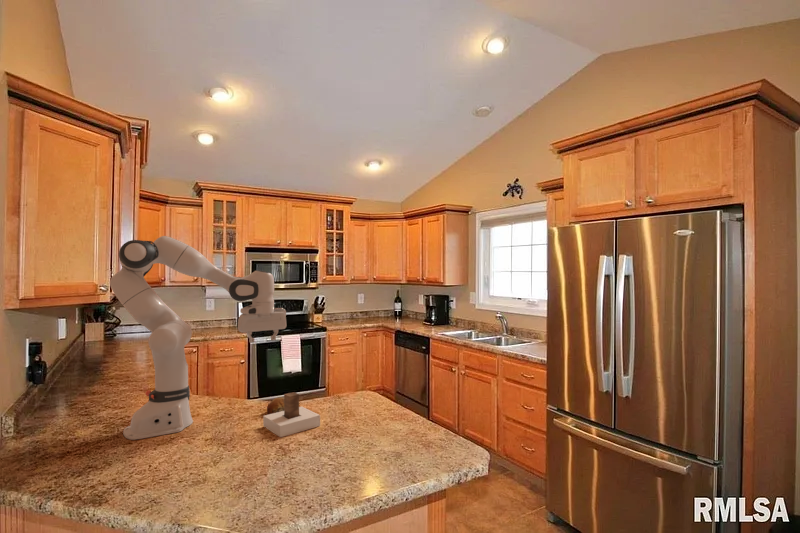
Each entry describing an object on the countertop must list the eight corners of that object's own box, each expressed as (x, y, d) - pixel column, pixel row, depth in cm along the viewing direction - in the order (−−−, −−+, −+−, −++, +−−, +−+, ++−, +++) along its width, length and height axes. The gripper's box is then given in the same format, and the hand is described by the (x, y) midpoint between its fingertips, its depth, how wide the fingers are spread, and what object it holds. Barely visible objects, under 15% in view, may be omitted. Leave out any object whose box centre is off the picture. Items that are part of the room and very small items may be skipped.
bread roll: (293, 419, 175) (296, 399, 179) (285, 416, 166) (288, 395, 170) (270, 418, 176) (274, 399, 180) (261, 415, 167) (264, 395, 171)
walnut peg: (289, 429, 155) (289, 396, 155) (284, 426, 158) (284, 394, 158) (299, 426, 158) (299, 394, 158) (294, 423, 161) (293, 392, 161)
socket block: (280, 437, 147) (280, 425, 147) (263, 426, 158) (263, 415, 158) (320, 425, 158) (320, 415, 158) (301, 416, 168) (301, 406, 168)
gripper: (282, 306, 188) (282, 337, 188) (236, 309, 174) (236, 342, 174) (289, 308, 183) (288, 339, 183) (242, 310, 170) (241, 344, 169)
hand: (262, 341), depth 178 cm, fingers open, 8 cm apart
